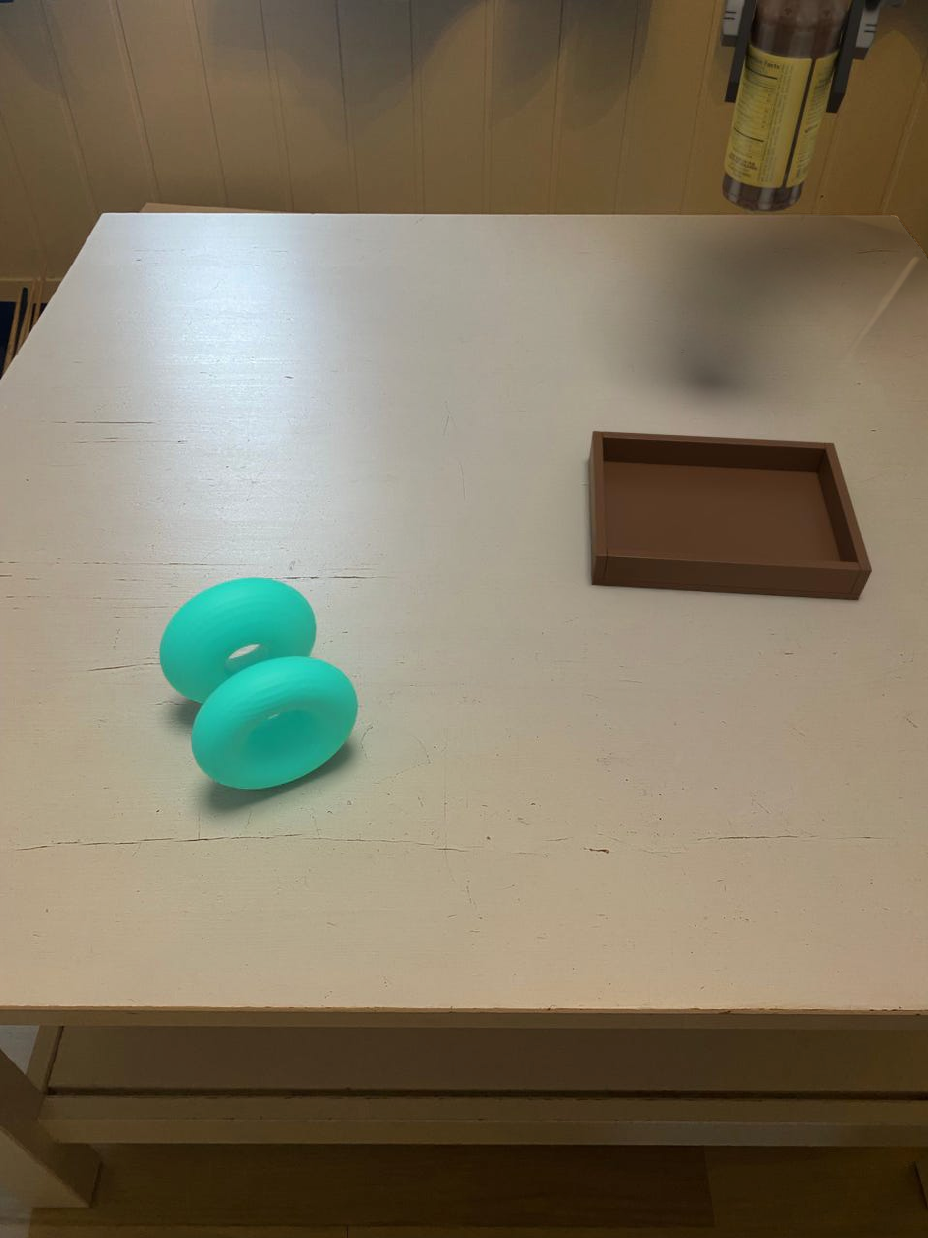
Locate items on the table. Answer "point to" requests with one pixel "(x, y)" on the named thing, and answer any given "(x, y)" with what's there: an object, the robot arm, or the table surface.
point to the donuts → (256, 684)
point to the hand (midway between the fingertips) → (783, 97)
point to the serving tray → (723, 516)
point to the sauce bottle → (781, 101)
